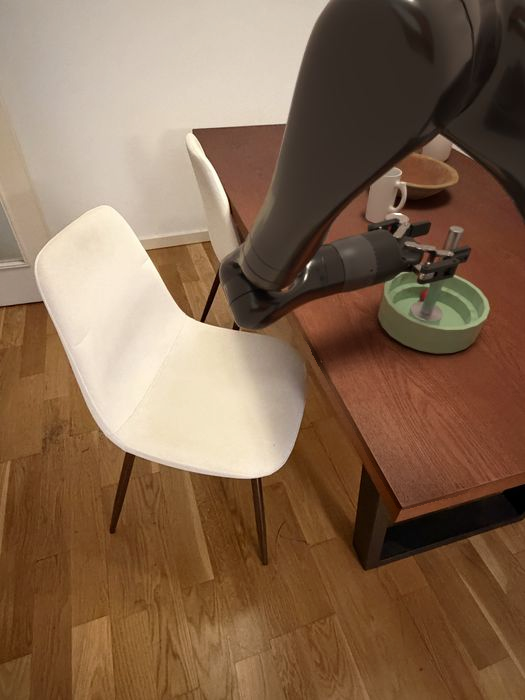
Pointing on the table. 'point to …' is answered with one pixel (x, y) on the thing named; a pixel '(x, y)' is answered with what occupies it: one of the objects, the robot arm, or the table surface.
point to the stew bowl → (454, 300)
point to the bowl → (425, 176)
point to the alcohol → (438, 148)
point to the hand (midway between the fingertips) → (447, 239)
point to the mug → (385, 196)
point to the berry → (423, 295)
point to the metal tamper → (435, 286)
